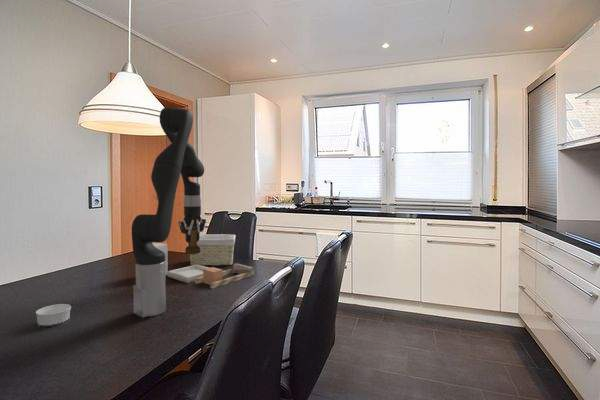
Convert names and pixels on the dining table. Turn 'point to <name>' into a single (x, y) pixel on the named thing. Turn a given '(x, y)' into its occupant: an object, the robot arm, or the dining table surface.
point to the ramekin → (53, 314)
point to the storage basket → (214, 250)
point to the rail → (237, 268)
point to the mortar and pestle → (193, 242)
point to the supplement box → (165, 249)
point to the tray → (187, 273)
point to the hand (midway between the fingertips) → (192, 241)
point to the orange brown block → (212, 275)
